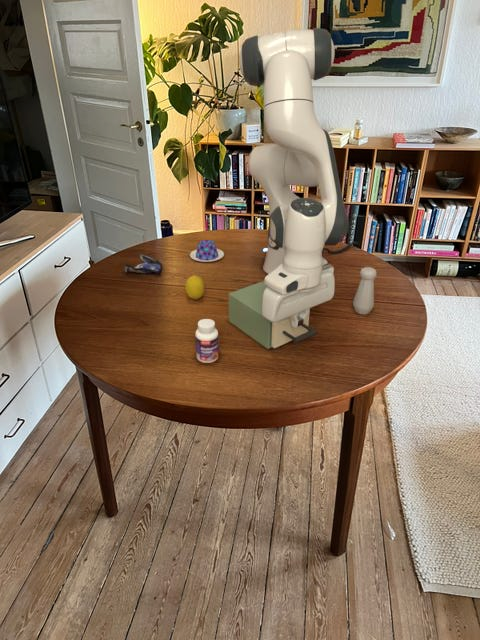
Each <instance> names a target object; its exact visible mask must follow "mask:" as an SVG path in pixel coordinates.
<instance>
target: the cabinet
mask: <svg viewBox="0 0 480 640" xmlns="http://www.w3.org/2000/svg"><path fill="white" fill-rule="evenodd" d="M267 287H268V286H267V285H265V283H264V280H262V281H260V282H257V283H254V284H251V285H248V286H246V287H243V288H240V289H237V290H234V291H231V292H228V295H227V297H228V299H227V300H228V301H227V303H228V322H229V323H231V324H232V325H233V326H235V327H236V328H238V329H239V330H240V331H242V332H243V333H245V334H246V335H247V336H249V337H250V338H251V339H253V340H254V341H255V342H257V343H258V344H260V345H261V346H262V347H264V348H266V349H267V350H269V349H271V348H273V347H272V346H271V342H272V341H271V322H270V321H269V320H267V319H266V318H265V317H264V316H263V315H262V300H263V293H264V291H265V289H266V288H267ZM270 341H271V342H270Z"/></svg>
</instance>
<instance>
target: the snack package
mask: <svg viewBox="0 0 480 640" xmlns="http://www.w3.org/2000/svg"><path fill="white" fill-rule="evenodd" d="M139 257H140V260H142V261H143V263H139V264H138V265H136V266H133V265H131V264H125V265H124V269H123V270H124V272H125V273H126V274H128V272H131V273H138V274H150V273H155V274H160V273H161V269H162V267H163V265H162V262H160V261H159V260H155V259H153V258H152V257H149V256H147V255H145V254H139ZM137 259H138V258H137V257H136V260H137ZM157 276H159V275H157Z"/></svg>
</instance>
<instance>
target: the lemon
mask: <svg viewBox="0 0 480 640" xmlns="http://www.w3.org/2000/svg"><path fill="white" fill-rule="evenodd" d="M184 286H185V287H184V288H185V293H186V295H187V297H188V298H190V299H192V300H194V301H197V300H198V299H200V298H202V297H203V295H204V294H205V283H204V280H203V279H202V278H201V277H200V276H199V275H196V274H193V275H191V276H189V277H188V278H187V279H186V280H185V285H184Z"/></svg>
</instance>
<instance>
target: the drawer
mask: <svg viewBox="0 0 480 640" xmlns="http://www.w3.org/2000/svg"><path fill="white" fill-rule="evenodd" d="M310 311H311V310H310ZM310 311H309V313H308V315H307V317H306V318H305V324H303V325H300V326H298V327H296V328H295V327H293V326H292V325H291V318H290V316H289V317H287V318H285V319H282V320H280V321H277V322H275V323H272V322H271V341H272V342H271V341H270V342H271V346H272V348H273V349H277V348H279V347H280V346H284V345H285V344H288V343H289V342H292V343H294V344H295V345H296V344H299V343H301V342H302V341H305V340H308V339H309V338H312V337H313V336H316V335H317V334H318V329H316V328H312V327H310V326H309V325H310V314H311V313H310ZM299 313H300V312H299ZM299 313H298V315H299ZM296 317H297V316H296Z"/></svg>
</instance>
